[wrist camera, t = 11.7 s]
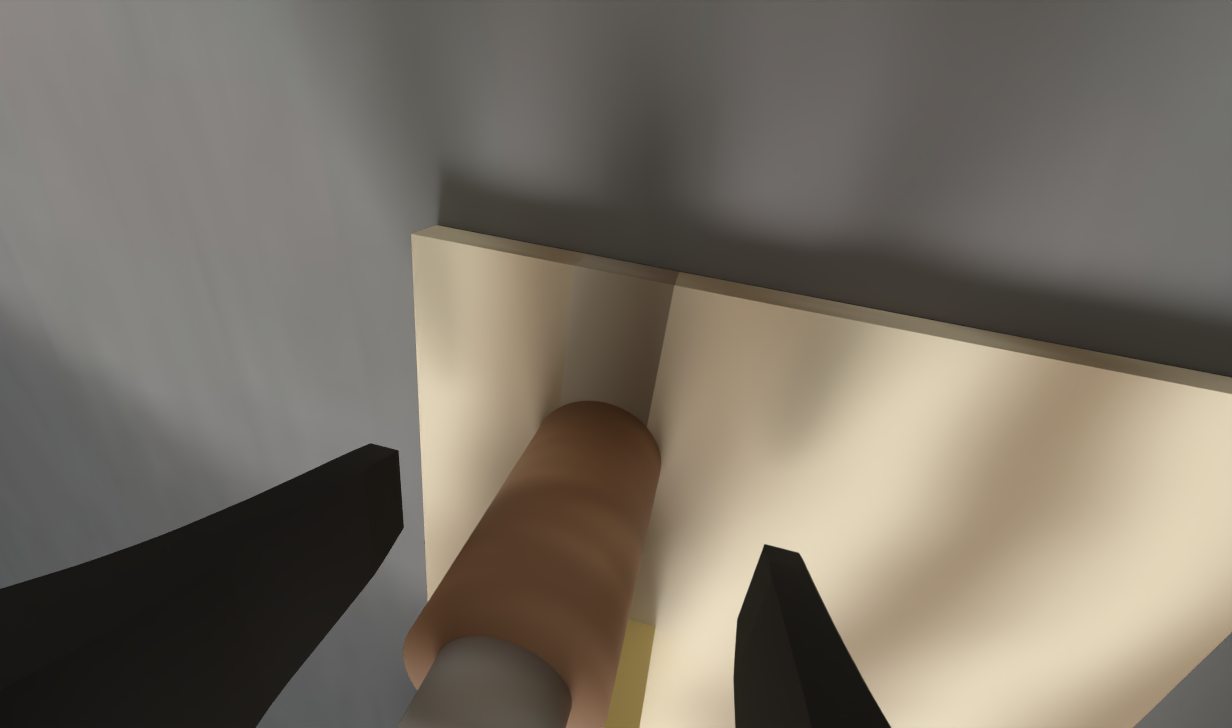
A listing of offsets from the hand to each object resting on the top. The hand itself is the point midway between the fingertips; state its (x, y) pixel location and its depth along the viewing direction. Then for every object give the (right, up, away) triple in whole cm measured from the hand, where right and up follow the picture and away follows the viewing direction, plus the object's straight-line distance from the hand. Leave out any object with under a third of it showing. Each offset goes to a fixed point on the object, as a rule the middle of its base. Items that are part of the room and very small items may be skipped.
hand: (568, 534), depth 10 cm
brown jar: (0, +1, +2) cm, 2 cm away
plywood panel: (+4, -5, +5) cm, 8 cm away
